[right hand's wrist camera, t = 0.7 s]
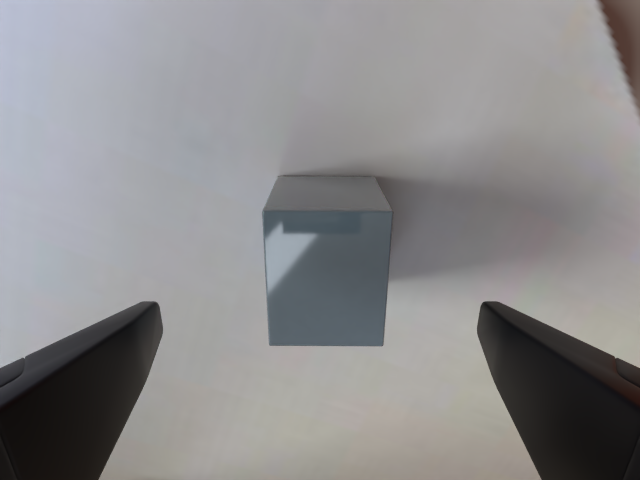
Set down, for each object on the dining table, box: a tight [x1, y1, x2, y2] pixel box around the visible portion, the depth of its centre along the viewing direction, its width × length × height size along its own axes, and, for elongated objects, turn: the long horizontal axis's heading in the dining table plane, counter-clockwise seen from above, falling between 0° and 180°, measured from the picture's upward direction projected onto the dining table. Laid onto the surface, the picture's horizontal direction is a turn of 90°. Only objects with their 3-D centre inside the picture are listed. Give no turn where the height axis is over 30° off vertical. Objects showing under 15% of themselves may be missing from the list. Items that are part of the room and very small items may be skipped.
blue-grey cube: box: [262, 176, 393, 346], centre depth 15 cm, size 4×5×5 cm
